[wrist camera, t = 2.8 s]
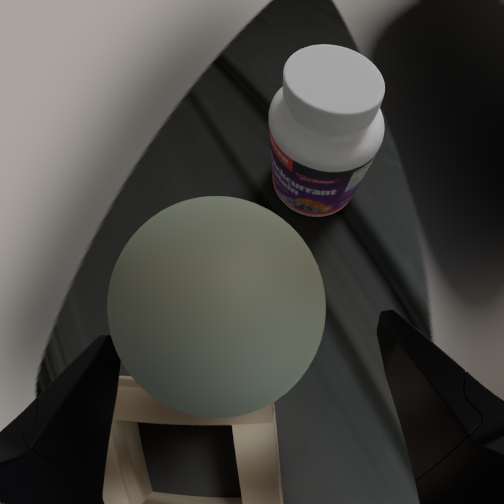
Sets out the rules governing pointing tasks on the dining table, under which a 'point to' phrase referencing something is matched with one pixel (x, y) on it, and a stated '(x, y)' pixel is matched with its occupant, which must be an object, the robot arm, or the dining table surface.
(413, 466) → the robot arm
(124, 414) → the holder
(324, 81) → the pill bottle
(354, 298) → the dining table surface
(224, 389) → the peg
